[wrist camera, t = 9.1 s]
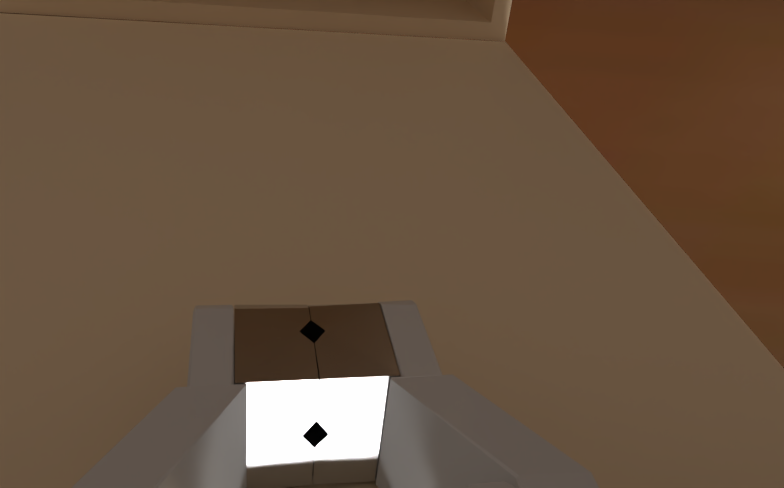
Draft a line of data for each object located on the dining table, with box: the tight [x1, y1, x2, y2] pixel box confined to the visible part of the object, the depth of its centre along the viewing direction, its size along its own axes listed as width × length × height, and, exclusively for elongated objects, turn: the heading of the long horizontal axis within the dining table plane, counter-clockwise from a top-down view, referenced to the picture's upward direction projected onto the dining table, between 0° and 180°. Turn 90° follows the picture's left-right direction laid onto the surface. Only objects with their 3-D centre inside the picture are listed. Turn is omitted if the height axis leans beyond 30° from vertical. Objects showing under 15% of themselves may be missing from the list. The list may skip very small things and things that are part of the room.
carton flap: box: [0, 13, 784, 488], centre depth 16 cm, size 18×16×1 cm
